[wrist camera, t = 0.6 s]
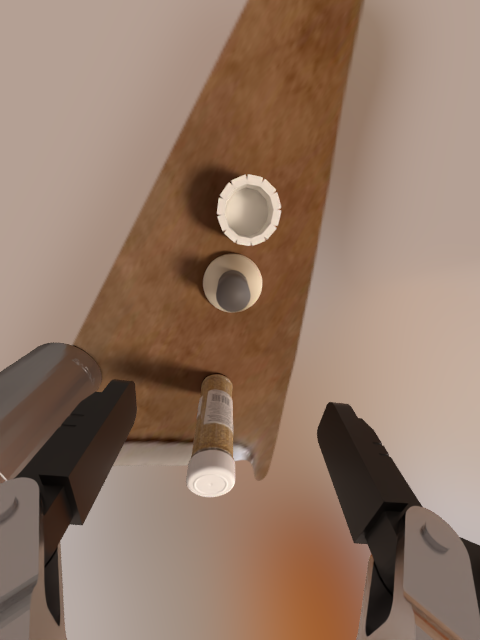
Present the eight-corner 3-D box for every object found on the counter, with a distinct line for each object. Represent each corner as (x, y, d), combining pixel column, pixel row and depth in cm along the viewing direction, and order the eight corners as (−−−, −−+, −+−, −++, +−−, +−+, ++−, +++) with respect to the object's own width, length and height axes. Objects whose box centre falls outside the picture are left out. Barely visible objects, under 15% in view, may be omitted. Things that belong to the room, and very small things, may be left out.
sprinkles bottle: (195, 386, 33) (175, 488, 20) (215, 367, 31) (206, 462, 19) (219, 402, 34) (214, 505, 22) (239, 383, 33) (245, 482, 21)
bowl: (230, 249, 25) (231, 254, 22) (210, 194, 23) (207, 190, 19) (279, 230, 24) (287, 232, 21) (264, 171, 22) (270, 163, 19)
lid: (217, 316, 28) (214, 335, 24) (194, 265, 26) (186, 276, 21) (268, 298, 28) (275, 314, 23) (250, 244, 25) (255, 250, 20)
